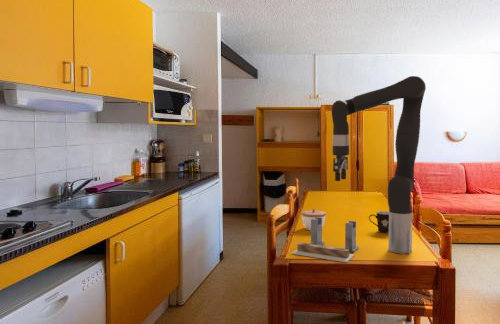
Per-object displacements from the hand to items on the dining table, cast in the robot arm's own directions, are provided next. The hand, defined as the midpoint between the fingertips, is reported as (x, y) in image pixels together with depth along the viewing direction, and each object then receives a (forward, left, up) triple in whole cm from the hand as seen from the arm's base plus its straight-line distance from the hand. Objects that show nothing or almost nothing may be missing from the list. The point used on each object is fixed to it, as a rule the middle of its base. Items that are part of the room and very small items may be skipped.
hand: (340, 180), depth 191 cm
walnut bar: (+1, +20, -29) cm, 35 cm away
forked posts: (+1, +7, -30) cm, 31 cm away
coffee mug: (-11, -35, -30) cm, 48 cm away
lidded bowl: (+22, -22, -30) cm, 43 cm away
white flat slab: (+1, +20, -30) cm, 36 cm away
